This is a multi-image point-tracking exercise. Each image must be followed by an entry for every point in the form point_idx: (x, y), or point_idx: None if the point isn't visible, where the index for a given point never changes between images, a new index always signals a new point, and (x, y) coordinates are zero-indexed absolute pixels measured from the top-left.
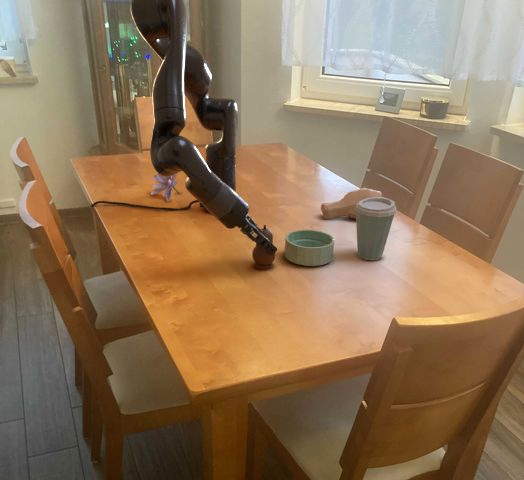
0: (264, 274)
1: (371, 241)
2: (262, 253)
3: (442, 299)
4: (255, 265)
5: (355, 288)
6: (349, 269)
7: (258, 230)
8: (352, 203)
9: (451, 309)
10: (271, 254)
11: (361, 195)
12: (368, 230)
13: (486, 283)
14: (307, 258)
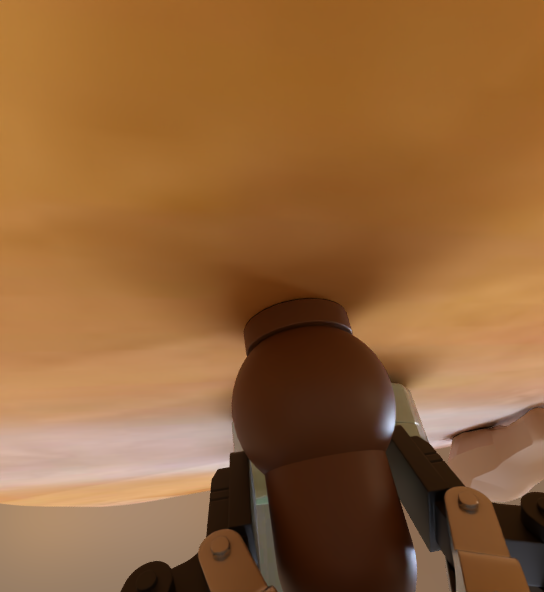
0: (176, 328)
1: (257, 514)
2: (251, 445)
3: (58, 496)
4: (298, 309)
5: (76, 459)
6: (209, 445)
7: (446, 568)
8: (501, 469)
9: (13, 503)
10: (231, 456)
11: (502, 489)
12: (264, 551)
13: (141, 497)
14: (240, 449)
